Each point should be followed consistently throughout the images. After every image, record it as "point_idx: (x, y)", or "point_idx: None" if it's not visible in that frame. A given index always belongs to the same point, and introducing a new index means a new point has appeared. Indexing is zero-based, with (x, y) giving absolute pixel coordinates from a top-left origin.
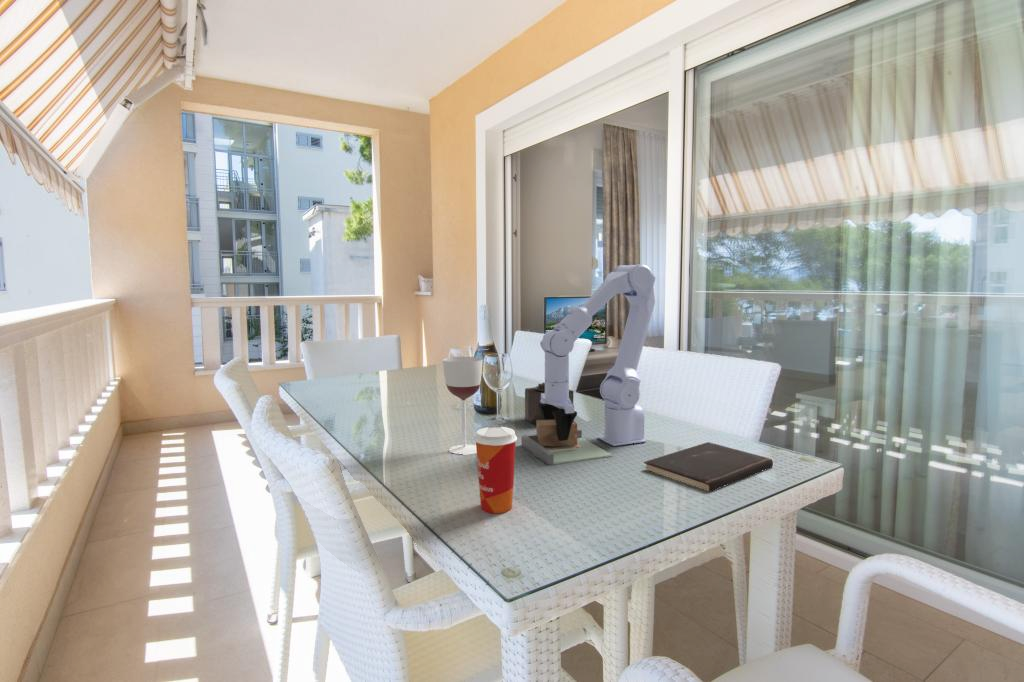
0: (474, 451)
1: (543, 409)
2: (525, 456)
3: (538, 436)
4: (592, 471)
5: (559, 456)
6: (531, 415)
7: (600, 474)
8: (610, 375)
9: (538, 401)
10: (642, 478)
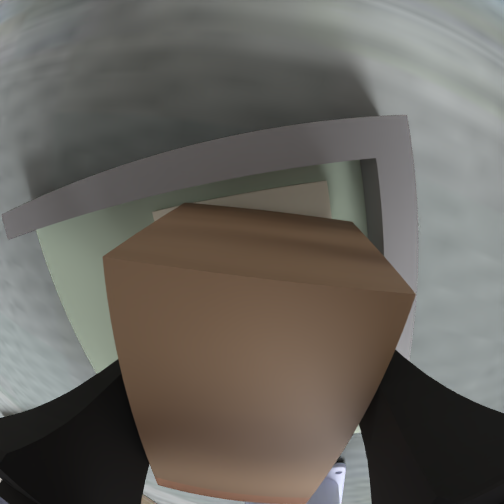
0: None
1: (414, 483)
2: (150, 101)
3: (228, 221)
4: (15, 324)
5: (101, 278)
6: None
7: (5, 331)
8: None
9: None
10: (15, 388)
